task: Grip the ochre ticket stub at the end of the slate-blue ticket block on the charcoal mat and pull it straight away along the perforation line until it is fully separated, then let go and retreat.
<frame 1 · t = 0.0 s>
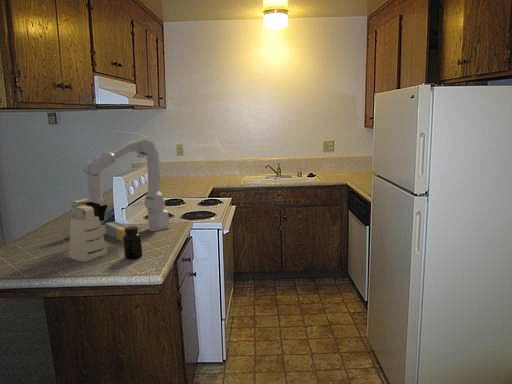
hand: (97, 219, 190), 10 cm above the countertop, tool pointing down, fingers open, 7 cm apart
ticket block: (116, 235, 199), resting on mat
grater: (88, 256, 173), on the countertop
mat: (123, 238, 195), on the countertop
supplement bottle: (133, 257, 169), on the countertop
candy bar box: (87, 234, 205), on the countertop
stub: (124, 233, 192), point 3 cm above the countertop, slide at 0.0 cm
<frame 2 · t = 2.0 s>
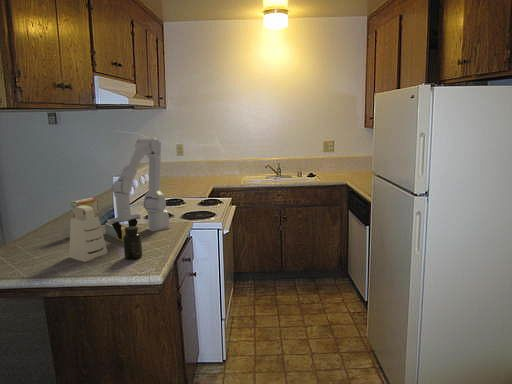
hand: (126, 237, 192), 1 cm above the countertop, tool pointing down, fingers closed on stub, 5 cm apart
stub: (124, 233, 192), point 3 cm above the countertop, slide at 0.0 cm, touching gripper
everything else where it was.
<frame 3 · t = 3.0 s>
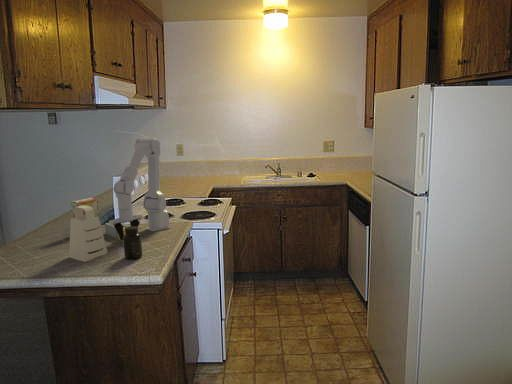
hand: (127, 238, 190), 1 cm above the countertop, tool pointing down, fingers closed on stub, 5 cm apart
stub: (126, 234, 191), point 3 cm above the countertop, slide at 1.8 cm, touching gripper
everything else where it was.
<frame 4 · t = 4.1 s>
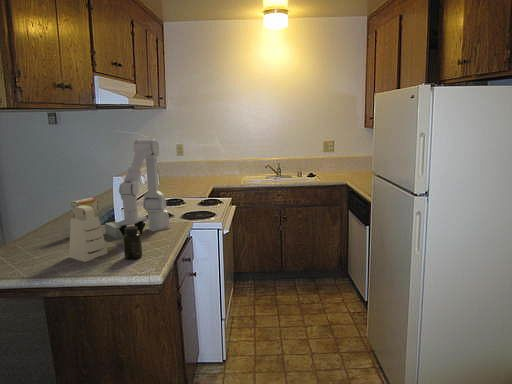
hand: (133, 240, 187), 1 cm above the countertop, tool pointing down, fingers closed on stub, 5 cm apart
stub: (131, 236, 187), point 3 cm above the countertop, slide at 6.6 cm, touching gripper
everything else where it was.
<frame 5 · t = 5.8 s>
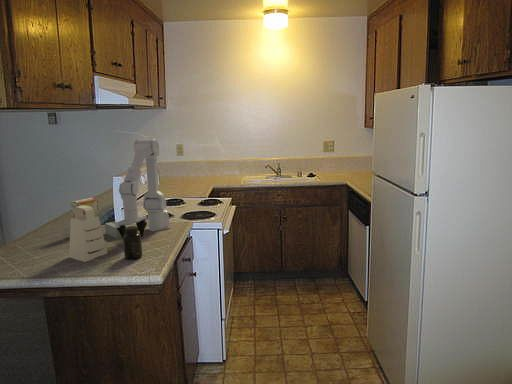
hand: (133, 240, 186), 2 cm above the countertop, tool pointing down, fingers open, 7 cm apart
stub: (131, 236, 187), point 3 cm above the countertop, slide at 6.6 cm
everything else where it was.
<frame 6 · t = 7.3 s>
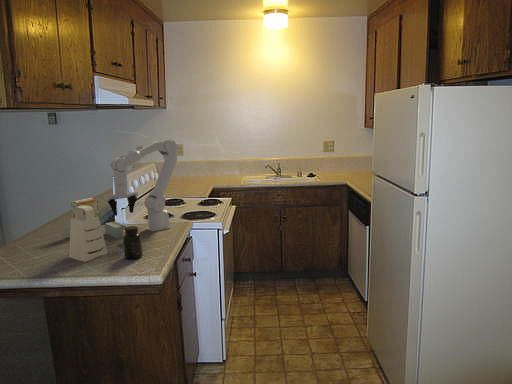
hand: (123, 213, 197), 10 cm above the countertop, tool pointing down, fingers open, 7 cm apart
nothing on the countertop moved.
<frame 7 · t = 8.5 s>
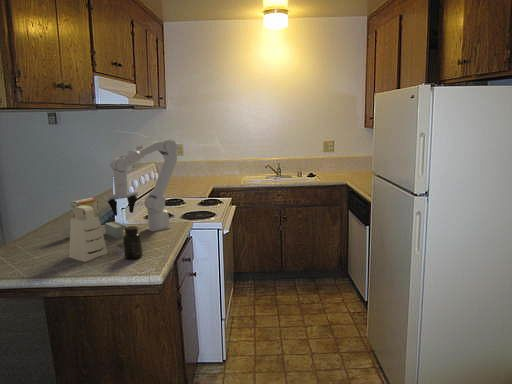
hand: (123, 213, 197), 10 cm above the countertop, tool pointing down, fingers open, 7 cm apart
nothing on the countertop moved.
at the end: stub slide at 6.6 cm; the gripper is holding nothing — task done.
